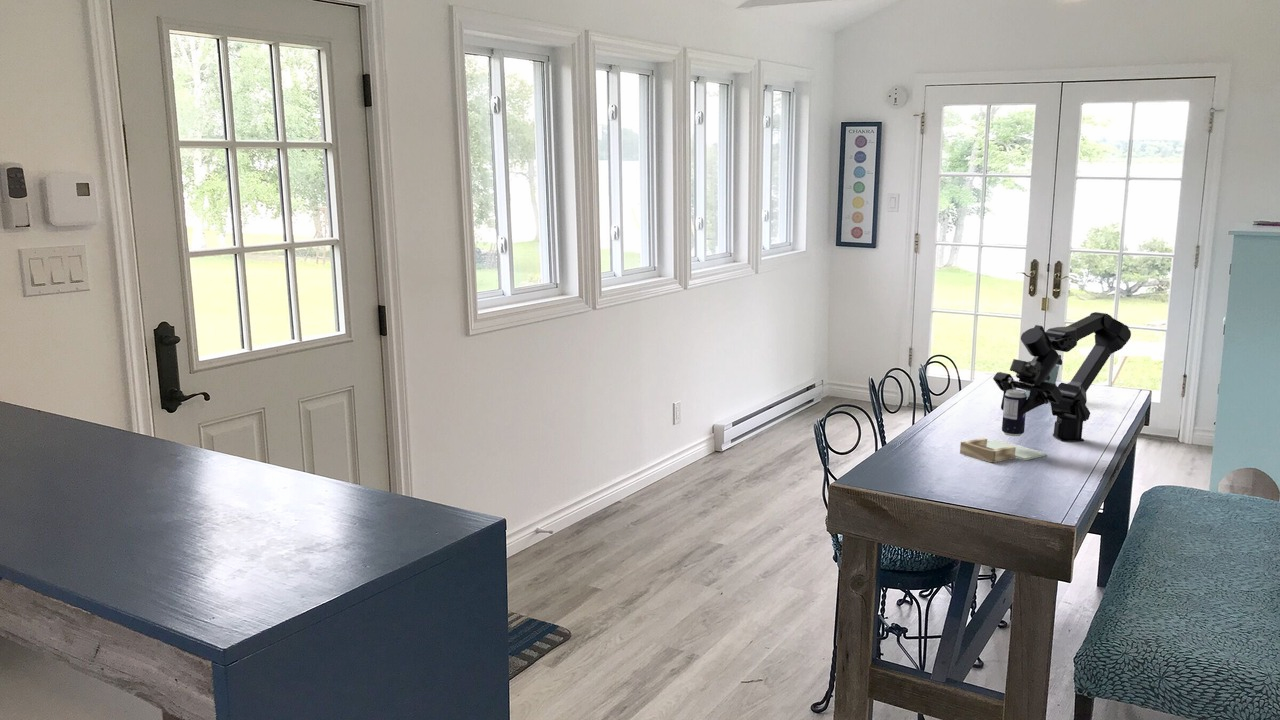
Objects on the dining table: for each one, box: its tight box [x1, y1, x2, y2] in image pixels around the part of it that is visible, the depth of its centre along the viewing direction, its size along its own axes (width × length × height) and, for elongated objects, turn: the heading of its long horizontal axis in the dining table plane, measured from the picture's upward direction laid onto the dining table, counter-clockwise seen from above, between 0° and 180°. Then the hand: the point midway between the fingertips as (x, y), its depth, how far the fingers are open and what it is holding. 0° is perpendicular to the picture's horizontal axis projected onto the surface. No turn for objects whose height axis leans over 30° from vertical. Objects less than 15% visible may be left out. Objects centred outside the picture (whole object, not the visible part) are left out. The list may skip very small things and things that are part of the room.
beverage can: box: [1001, 388, 1028, 437], centre depth 265 cm, size 6×6×12 cm
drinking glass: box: [1025, 360, 1060, 402], centre depth 329 cm, size 10×10×12 cm
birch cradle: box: [959, 437, 1016, 463], centre depth 261 cm, size 9×10×3 cm
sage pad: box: [987, 439, 1048, 461], centre depth 267 cm, size 9×16×1 cm, turn 32°
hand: (1011, 411), depth 264 cm, fingers closed on beverage can, 6 cm apart
